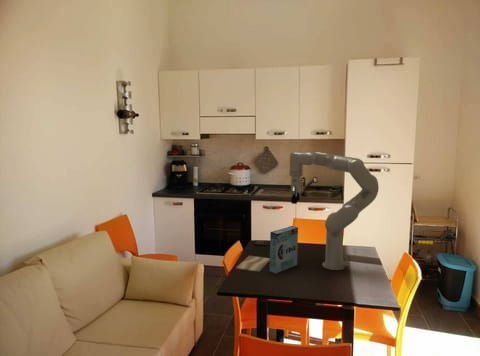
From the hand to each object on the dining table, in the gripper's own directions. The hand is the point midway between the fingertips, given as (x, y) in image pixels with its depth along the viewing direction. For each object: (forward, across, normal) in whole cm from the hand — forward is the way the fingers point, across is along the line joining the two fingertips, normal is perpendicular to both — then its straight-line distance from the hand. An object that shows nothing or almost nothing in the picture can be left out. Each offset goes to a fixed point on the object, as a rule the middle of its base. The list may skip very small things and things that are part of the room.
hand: (295, 202), depth 218 cm
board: (+36, -11, +22) cm, 44 cm away
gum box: (+37, -13, +4) cm, 39 cm away
